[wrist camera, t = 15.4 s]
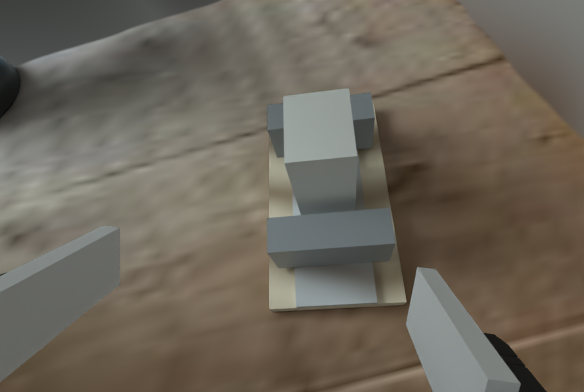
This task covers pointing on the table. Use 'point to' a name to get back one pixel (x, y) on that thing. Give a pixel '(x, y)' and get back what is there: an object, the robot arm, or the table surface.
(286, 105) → the block
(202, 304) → the table surface
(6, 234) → the table surface
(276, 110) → the mounted modules
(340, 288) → the mounting board
